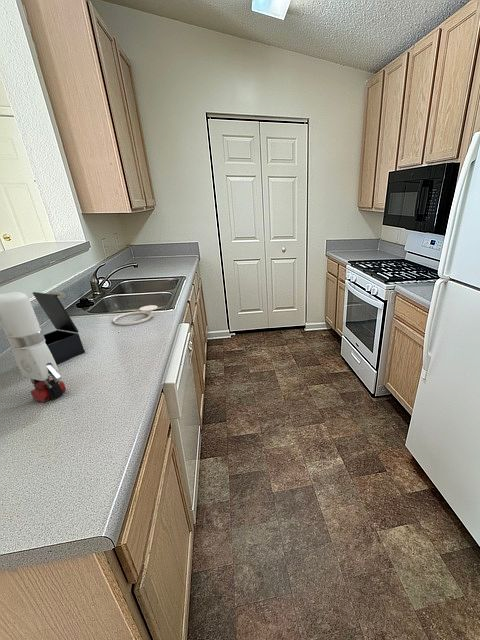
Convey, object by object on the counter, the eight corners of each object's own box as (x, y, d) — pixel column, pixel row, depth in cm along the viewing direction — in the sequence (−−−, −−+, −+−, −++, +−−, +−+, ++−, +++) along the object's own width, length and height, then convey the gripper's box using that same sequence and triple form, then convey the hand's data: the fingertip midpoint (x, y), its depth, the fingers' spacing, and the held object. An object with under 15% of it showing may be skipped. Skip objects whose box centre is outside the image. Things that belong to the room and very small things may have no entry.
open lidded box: (47, 369, 113) (38, 348, 110) (25, 364, 117) (16, 344, 114) (85, 352, 125) (78, 333, 122) (64, 348, 129) (57, 329, 126)
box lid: (54, 295, 112) (67, 288, 116) (32, 292, 116) (45, 286, 119) (77, 332, 121) (88, 325, 125) (56, 329, 125) (67, 322, 129)
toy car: (43, 403, 94) (37, 388, 92) (34, 401, 96) (27, 386, 94) (67, 391, 100) (61, 377, 98) (58, 389, 102) (52, 374, 99)
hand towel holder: (111, 308, 160) (156, 302, 167) (113, 316, 162) (158, 310, 169) (109, 318, 146) (159, 311, 154) (112, 327, 148) (161, 320, 156)
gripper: (-9, 340, 89) (19, 396, 98) (33, 348, 84) (58, 408, 92) (21, 330, 96) (44, 384, 104) (61, 337, 90) (82, 394, 98)
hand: (50, 395), depth 98 cm, fingers open, 4 cm apart
